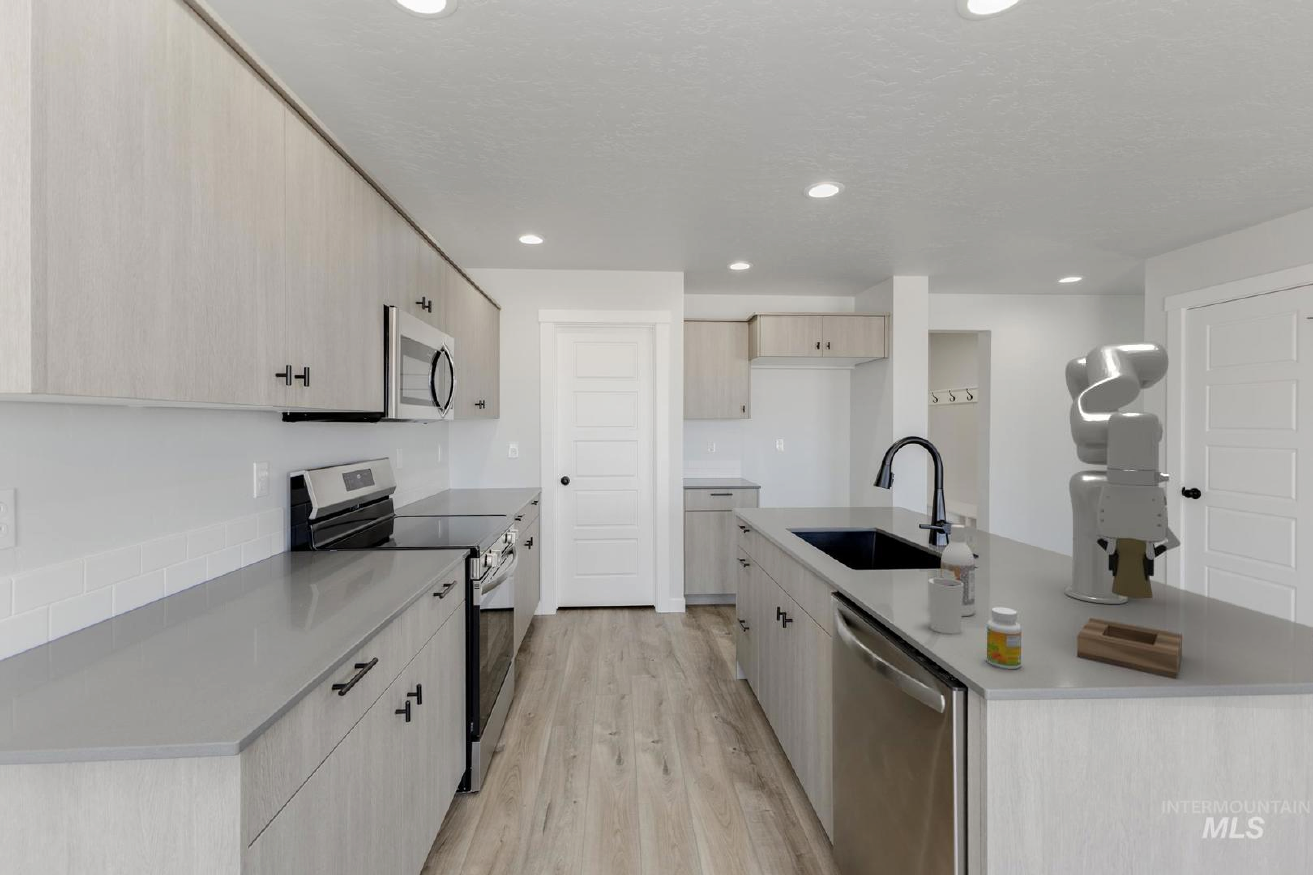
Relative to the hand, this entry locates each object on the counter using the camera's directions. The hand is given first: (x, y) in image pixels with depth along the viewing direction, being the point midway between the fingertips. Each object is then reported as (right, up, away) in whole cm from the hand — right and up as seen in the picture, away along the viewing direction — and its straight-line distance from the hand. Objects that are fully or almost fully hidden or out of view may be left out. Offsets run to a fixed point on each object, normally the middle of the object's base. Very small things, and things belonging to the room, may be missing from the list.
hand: (1130, 576), depth 112 cm
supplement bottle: (-25, -15, -3) cm, 30 cm away
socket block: (0, -15, 0) cm, 15 cm away
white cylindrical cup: (-27, -15, +15) cm, 35 cm away
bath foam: (-19, -15, +27) cm, 36 cm away
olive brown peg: (0, -3, 0) cm, 3 cm away
